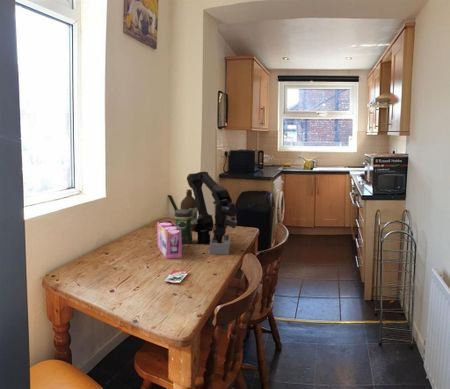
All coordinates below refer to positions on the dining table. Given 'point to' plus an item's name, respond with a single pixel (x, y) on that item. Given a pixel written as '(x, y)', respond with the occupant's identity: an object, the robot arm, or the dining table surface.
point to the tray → (220, 245)
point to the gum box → (169, 239)
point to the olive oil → (190, 207)
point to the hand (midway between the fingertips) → (220, 242)
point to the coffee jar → (184, 224)
